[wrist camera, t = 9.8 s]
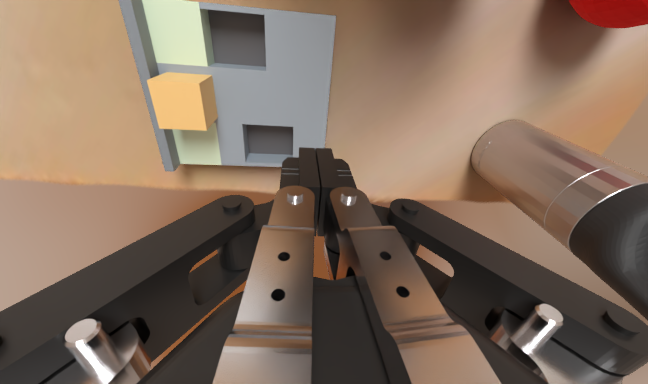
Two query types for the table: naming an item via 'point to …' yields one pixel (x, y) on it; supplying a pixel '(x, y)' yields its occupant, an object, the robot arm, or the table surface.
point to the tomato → (612, 12)
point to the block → (183, 100)
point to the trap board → (238, 77)
